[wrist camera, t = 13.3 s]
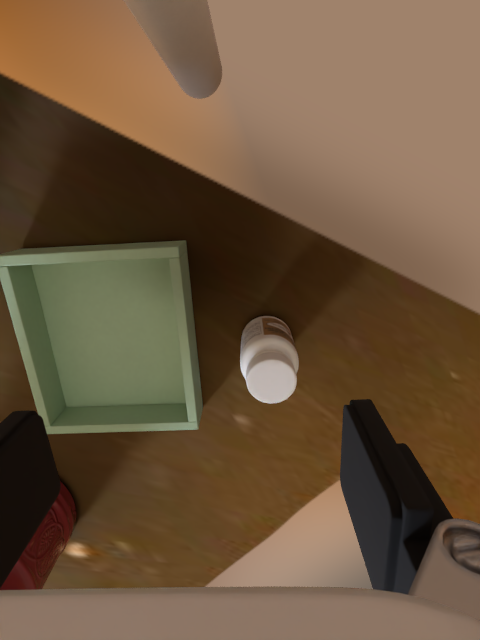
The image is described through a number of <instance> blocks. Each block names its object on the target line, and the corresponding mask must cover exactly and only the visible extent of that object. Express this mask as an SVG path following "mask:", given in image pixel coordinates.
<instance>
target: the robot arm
mask: <svg viewBox="0 0 480 640" xmlns="http://www.w3.org/2000/svg"><path fill="white" fill-rule="evenodd" d="M340 481H341V487H342V491H343V494H344V497H345V501H346V504H347V507H348V510H349V513H350V517H351V520H352V523H353V526H354V529H355V533H356V536H357V539H358V542H359V545H360V548H361V552H362V555H363V558H364V561H365V565H366V568H367V571H368V574H369V577H370V581H371V584H372V587H373V589H359V588H343V587H170V588H96V589H36V590H0V640H480V524H477V523H475V522H472V521H469V520H463V519H453V517H452V516H451V514H450V513H449V511H448V509H447V508H446V506H445V505H444V503H443V501H442V500H441V498H440V497H439V495H438V493H437V492H436V490H435V489H434V487H433V485H432V484H431V482H430V481H429V479H428V477H427V476H426V474H425V473H424V471H423V469H422V468H421V466H420V464H419V463H418V461H417V460H416V458H415V456H414V455H413V453H412V452H411V450H410V449H409V447H408V446H407V445H406V444H404V443H401V444H396V442H395V440H394V438H393V437H392V435H391V433H390V432H389V430H388V428H387V427H386V425H385V423H384V421H383V420H382V418H381V416H380V415H379V413H378V411H377V409H376V408H375V406H374V404H373V403H372V401H371V400H369V399H366V400H351V401H350V405H344V409H343V428H342V448H341V469H340ZM60 488H61V484H60V479H59V476H58V472H57V469H56V465H55V461H54V458H53V454H52V450H51V447H50V443H49V440H48V436H47V432H46V429H45V425H44V421H43V419H42V417H41V416H40V415H38V414H37V413H36V412H35V411H15V412H12V413H11V414H10V415H9V416H8V417H7V418H6V419H4V420H3V421H2V422H1V423H0V588H1V587H2V585H3V583H4V582H5V580H6V579H7V577H8V575H9V574H10V572H11V571H12V569H13V567H14V566H15V564H16V563H17V561H18V559H19V558H20V556H21V555H22V553H23V551H24V550H25V548H26V547H27V545H28V543H29V542H30V540H31V539H32V537H33V535H34V534H35V532H36V531H37V529H38V527H39V526H40V524H41V523H42V521H43V519H44V518H45V516H46V515H47V513H48V511H49V510H50V508H51V507H52V505H53V503H54V502H55V500H56V498H57V497H58V495H59V492H60Z"/></svg>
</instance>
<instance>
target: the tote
mask: <svg viewBox="0 0 480 640" xmlns="http://www.w3.org/2000/svg"><path fill="white" fill-rule="evenodd" d="M0 279H1V283H2V286H3V290H4V293H5V297H6V301H7V304H8V308H9V311H10V315H11V319H12V322H13V326H14V329H15V333H16V336H17V340H18V344H19V347H20V351H21V354H22V358H23V361H24V365H25V369H26V372H27V376H28V379H29V383H30V386H31V390H32V394H33V397H34V401H35V404H36V408H37V411H38V415H40V416H41V417H42V419H43V421H44V425H45V429H46V432H47V434H68V433H100V432H133V431H165V430H197V429H198V428H199V423H200V419H201V414H202V409H203V403H202V393H201V383H200V373H199V363H198V354H197V344H196V334H195V324H194V314H193V304H192V294H191V285H190V275H189V265H188V255H187V245H186V240H184V241H165V242H145V243H126V244H106V245H87V246H68V247H48V248H29V249H19V250H15V251H11V252H8V253H4V254H0Z"/></svg>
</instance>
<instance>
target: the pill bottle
mask: <svg viewBox="0 0 480 640" xmlns="http://www.w3.org/2000/svg"><path fill="white" fill-rule="evenodd" d="M240 367H241V371H242V374H243V376H244V378H245V379H246V384H247V388H248V390H249V392H250V393H251V395H252V396H253V397H254V398H256V399H257V400H259V401H261V402H265V403H278V402H281V401H283V400H285V399H287V398H288V397H289V396H290V395H291V394H292V393H293V392H294V390H295V388H296V383H297V377H296V373H297V371H298V367H299V359H298V354H297V351H296V348H295V344H294V341H293V338H292V335H291V331H290V329H289V328H288V326H287V325H286V324H285V323H284V322H283V321H282V320H280V319H278V318H276V317H272V316H261V317H258V318H255V319H253V320H252V321H250V322H249V323H248V324H247V325H246V327H245V328H244V330H243V333H242V337H241V352H240Z"/></svg>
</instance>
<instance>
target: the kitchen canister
mask: <svg viewBox="0 0 480 640" xmlns="http://www.w3.org/2000/svg"><path fill="white" fill-rule="evenodd" d="M60 484H61V488H60V492H59V495H58V497H57V498H56V500H55V502H54V503H53V505H52V507H51V508H50V510H49V511H48V513H47V515H46V516H45V518H44V519H43V521H42V523H41V524H40V526H39V527H38V529H37V531H36V532H35V534H34V535H33V537H32V539H31V540H30V542H29V543H28V545H27V547H26V548H25V550H24V551H23V553H22V555H21V556H20V558H19V559H18V561H17V563H16V564H15V566H14V567H13V569H12V571H11V572H10V574H9V575H8V577H7V579H6V580H5V582H4V583H3V585H2V587H1V588H0V590H36V589H42V588H43V586H44V584H45V582H46V580H47V578H48V576H49V574H50V572H51V570H52V568H53V566H54V565H55V563H56V561H57V559H58V557H59V555H60V554H61V553H62V552H63V551H64V549H65V547H66V545H67V543H68V541H69V539H70V537H71V535H72V531H73V526H74V524H75V519H76V508H75V504H74V501H73V498H72V496H71V494H70V492H69V491H68V490H67V488H66V487H65V486H64V485H63V483H62V482H61V481H60Z"/></svg>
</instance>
